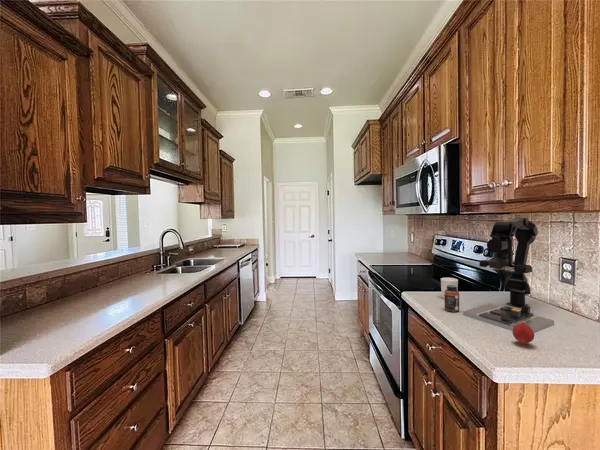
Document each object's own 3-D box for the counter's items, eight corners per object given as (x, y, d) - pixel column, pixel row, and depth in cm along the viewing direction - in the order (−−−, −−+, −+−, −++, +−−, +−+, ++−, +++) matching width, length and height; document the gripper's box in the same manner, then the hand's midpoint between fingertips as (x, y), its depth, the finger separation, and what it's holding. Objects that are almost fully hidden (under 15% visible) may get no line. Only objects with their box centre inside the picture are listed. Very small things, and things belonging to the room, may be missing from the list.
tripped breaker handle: (513, 314, 116) (513, 308, 116) (520, 316, 114) (520, 310, 114) (511, 315, 116) (511, 309, 115) (518, 317, 113) (518, 310, 113)
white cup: (442, 295, 153) (442, 276, 153) (458, 297, 149) (458, 278, 148) (439, 299, 147) (439, 279, 146) (456, 301, 142) (456, 281, 142)
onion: (508, 341, 99) (508, 318, 99) (523, 339, 99) (523, 317, 99) (522, 349, 93) (522, 325, 93) (538, 347, 94) (539, 323, 93)
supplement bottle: (461, 312, 127) (461, 287, 126) (446, 312, 128) (446, 287, 127) (456, 308, 133) (456, 284, 132) (442, 307, 134) (442, 284, 133)
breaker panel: (490, 306, 133) (490, 296, 133) (554, 324, 112) (554, 311, 112) (463, 314, 124) (463, 303, 124) (526, 335, 103) (527, 321, 103)
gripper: (471, 249, 130) (471, 283, 130) (518, 254, 113) (518, 293, 114) (486, 247, 135) (486, 280, 135) (533, 251, 118) (532, 289, 119)
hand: (504, 285), depth 126 cm, fingers closed
